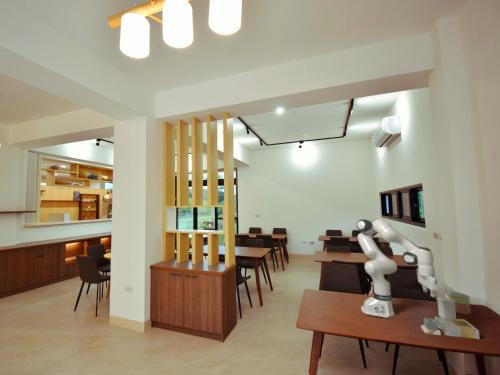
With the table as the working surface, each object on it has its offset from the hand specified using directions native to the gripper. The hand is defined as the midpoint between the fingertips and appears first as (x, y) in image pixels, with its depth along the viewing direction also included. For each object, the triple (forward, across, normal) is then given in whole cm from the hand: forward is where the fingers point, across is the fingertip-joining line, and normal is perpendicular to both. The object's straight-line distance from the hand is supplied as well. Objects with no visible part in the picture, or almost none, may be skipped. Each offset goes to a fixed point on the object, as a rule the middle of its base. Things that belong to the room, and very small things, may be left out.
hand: (429, 294), depth 155 cm
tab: (+22, -2, +2) cm, 22 cm away
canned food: (+22, +35, -33) cm, 53 cm away
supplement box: (+22, +21, -18) cm, 36 cm away
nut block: (+20, -3, +2) cm, 20 cm away
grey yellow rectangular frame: (+22, +1, -13) cm, 26 cm away
